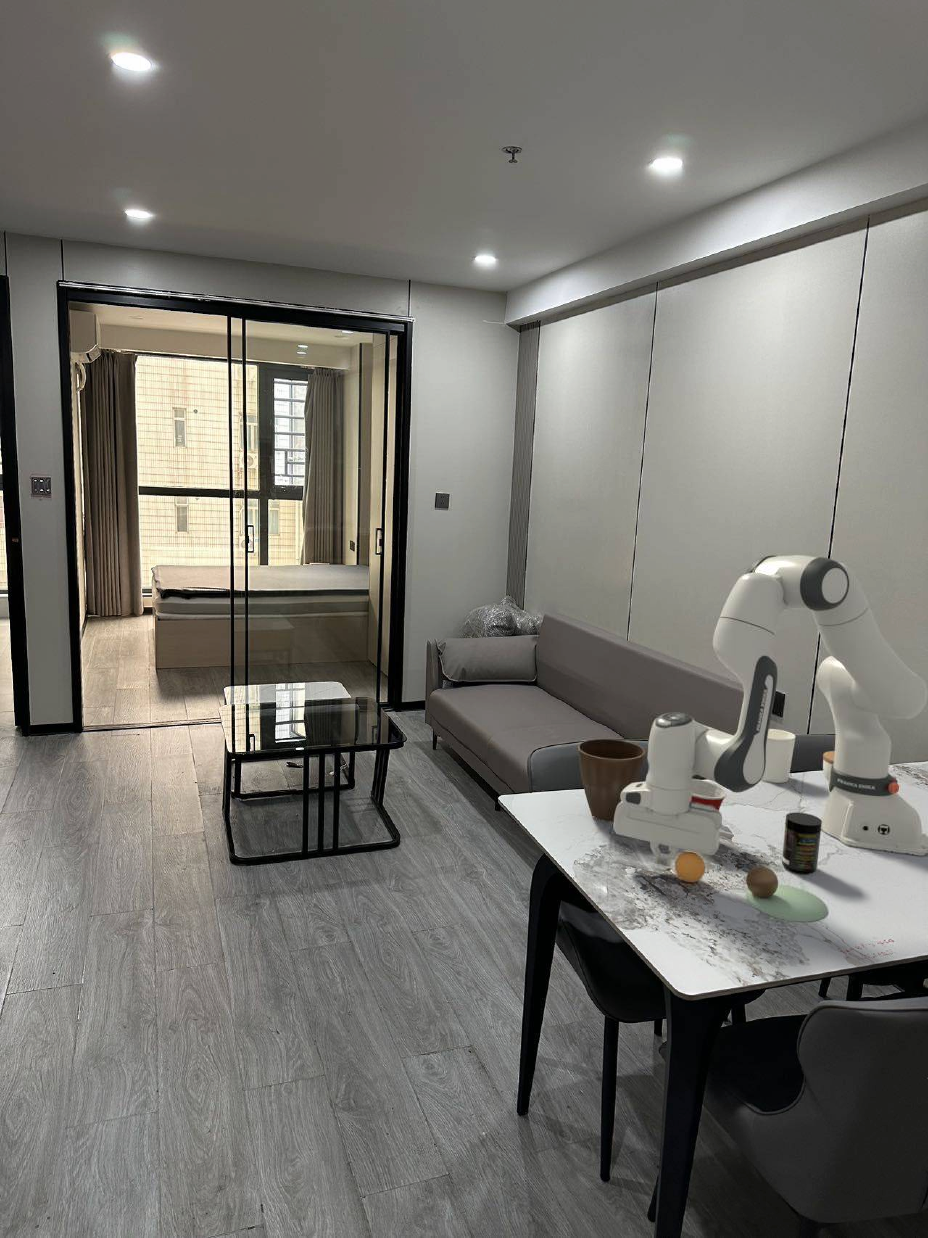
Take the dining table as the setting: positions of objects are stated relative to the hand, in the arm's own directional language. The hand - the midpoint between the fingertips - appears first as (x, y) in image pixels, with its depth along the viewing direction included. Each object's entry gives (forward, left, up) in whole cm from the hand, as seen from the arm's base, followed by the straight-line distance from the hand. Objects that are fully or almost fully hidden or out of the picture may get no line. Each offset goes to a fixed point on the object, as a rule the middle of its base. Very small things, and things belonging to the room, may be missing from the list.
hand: (663, 864), depth 167 cm
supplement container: (-23, -17, -2) cm, 29 cm away
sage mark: (-23, 0, -2) cm, 23 cm away
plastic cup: (-2, -20, -2) cm, 20 cm away
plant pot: (+19, -22, -2) cm, 29 cm away
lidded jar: (-26, -76, -2) cm, 80 cm away
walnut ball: (-19, 0, +1) cm, 19 cm away
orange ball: (-5, +1, +1) cm, 6 cm away
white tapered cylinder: (-9, -72, -2) cm, 73 cm away
